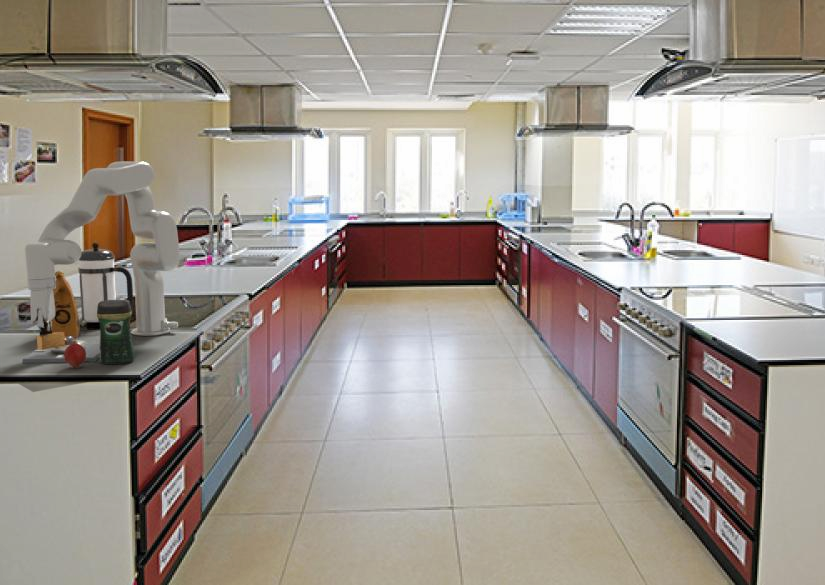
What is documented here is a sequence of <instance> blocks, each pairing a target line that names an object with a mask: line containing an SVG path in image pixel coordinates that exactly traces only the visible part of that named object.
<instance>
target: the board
mask: <svg viewBox="0 0 825 585" xmlns="http://www.w3.org/2000/svg"><path fill="white" fill-rule="evenodd" d="M85 351H86V358H85V360H84V362H85V361H94V360H95V361H96V360H98V359H99V358H100V357H99V356H100V342H98V343H86V350H85ZM95 361H94V362H95ZM84 362H83V363H84ZM34 363H35V364H38V363H39V364H40V363H41V364H46V363H47V364H48V363H67V362H66V360H65V358H64V353H63V354H60V353H52V352H51V348H50V349H45V350H38V349H35V350H34V351H33V352H32V353H30V354H28V355H27V356H25V357H24V358H22V364H34ZM85 363H86V362H85Z"/></svg>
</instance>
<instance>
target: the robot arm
mask: <svg viewBox="0 0 825 585" xmlns="http://www.w3.org/2000/svg"><path fill="white" fill-rule="evenodd" d="M155 177H156V176H155V170H154V167H153V166H151V165H150V163H147V162H145V161H129V160H128V161H126V160H125V161H121V160H120V161H115V162H111V163H109V164H108V166H107V167H105V168H103V167H99V168H96V167H95V168H92V169H90V170H88V171H86V173H85V175H84V176H83V178H82V180H81V181H80V184H79V185H78V188H77V189H76V192H75V193H74V194H73V197H72V198H71V201H70V203H69V204H68V205H67V206H66V208H64V209H63V210H62V211H60V212H59V214H56V216H54V217H53V219H51V221H50V222H49V223H48V224H47V225H46V226H45V227H44V230H43V231H42V233H41V234H40V237H39V239H38V241H36V242H35V241H34V242H30V243H27V244H26V245H25V247H24V254H25V263H26V264H25V265H26V276H27V286H28V289H27V290H29V291H30V300H29V301H30V322H31V323H32V324H35V323H38V325H37V326H38V329H39V336H40V335H45V334H50V333H52V319H53V318H54V317H55V301H54V292H53V289H55V288H56V276H55V272H56V270H55V266H56V265H57V266H58V265H61V266H62V265H65V266H66V265H69V266H70V265H73V264H75V262H77V261H78V260H79V259H80V257H81V252H82V248H81V246H80V245H79V244H78V243H77V242H75V241H73V240H70V239H66V238H67V236H68V235H69V234H70V233H72V232H73V231H75V230H76V229H79V228H80V227H83V226H86V225H88V224H89V223H91V222H93V221H94V220H95V219H96V218H97V215H98V214H99V212H100V210H101V208H102V206H103V204H104V202H105V200H106V198H107V196H121V195H124V196H125V198H126V201H127V202H126V203H127V206H128V216H129V223H130V230H131V232H132V234H133V236H134V237H136V238H139V239H143V240H144V239H145V240H146V239H148V240H154V241H151V242H150V241H142V242H138V243H136V244H135V245H134V246H133V247H132V248H131V250H130V253H129V258H130V263H131V269H132V271H133V279H134V294H135V295H134V296H135V298H134V299H135V302H134V303H135V320H136V321H135V322H136V327H135V328H133V329H132V330H131V334H132V335H135V336H142V337H143V336H144V337H145V336H147V337H148V336H151V337H153V336H161V335H165V334H168V333H170V332H171V328H173V329H174V328H178V327H179V322H178V321H169V320H168V317H166V314H165V312H166V310H165V308H166V307H165V306H166V305H165V289H164V288H165V287H164V278H163V276H162V273H161V272H171V271H174V270H175V269H176V268H177V267H178V266H179V263H180V258H181V257H180V256H181V255H180V254H181V253H180V244H179V237H178V236H179V235H178V227H177V224H176V221H175V219H174V216H172V214H170V213H168V212H166V211H162V210H159V211H158V210H156V205H155V200H154V194H153V192H152V190H151V188H150V186H151V185H152V184H153V182H154V180H155Z"/></svg>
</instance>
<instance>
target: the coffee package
mask: <svg viewBox="0 0 825 585" xmlns="http://www.w3.org/2000/svg"><path fill="white" fill-rule="evenodd" d="M55 281H56V288H55V289H53V292H54V301H55V317H54V318H53V319H52V333H55V332H64V335H65V336H73V338H75V339H78V337H79V334H80V332H81V330H80V325H79V322H80V319H79V312H78V306H77V302H76V299H75V296H74V294H73V291H72V287H71V285H70V282H69V281H68V280H67V279H66V278H65V273H64V272H62V271H60V270H58V271H55Z"/></svg>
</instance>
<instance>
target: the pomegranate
mask: <svg viewBox="0 0 825 585" xmlns="http://www.w3.org/2000/svg"><path fill="white" fill-rule="evenodd" d="M64 358H65V360H66V362H65V363H67V364H69V365H70V366H72V367H73V368H76V369H77V368H78V367H79V366H81V365H82V363H84V360H85V358H86V351H85V349H84V348H83V347H82V346H81V345H80V344H78V343H77V342H76V341H73V343H72V344H71V345H69V346H68V347H67V348H66V350H65V353H64Z"/></svg>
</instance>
